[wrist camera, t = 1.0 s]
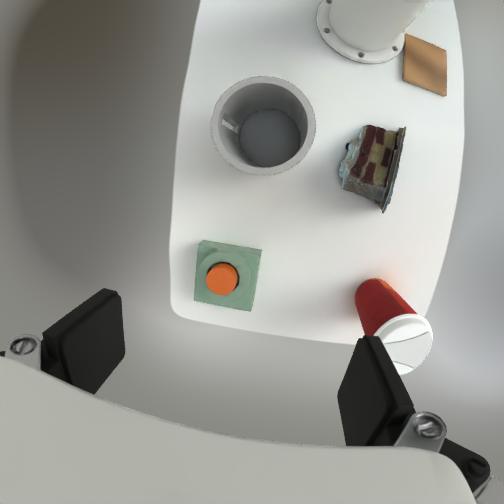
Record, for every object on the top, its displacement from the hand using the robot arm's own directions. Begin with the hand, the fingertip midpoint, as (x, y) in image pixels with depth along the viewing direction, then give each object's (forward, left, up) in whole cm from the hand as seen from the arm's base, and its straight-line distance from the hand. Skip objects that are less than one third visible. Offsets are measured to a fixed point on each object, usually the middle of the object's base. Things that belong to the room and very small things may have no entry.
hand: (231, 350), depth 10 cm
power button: (+8, -5, -24) cm, 26 cm away
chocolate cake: (-10, +11, -29) cm, 32 cm away
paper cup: (+9, +16, -29) cm, 34 cm away
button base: (+9, -4, -29) cm, 30 cm away
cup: (-10, -2, -29) cm, 31 cm away
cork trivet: (-26, +19, -29) cm, 43 cm away
